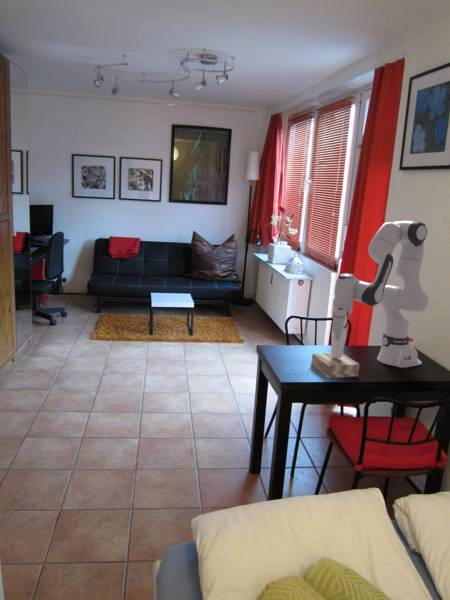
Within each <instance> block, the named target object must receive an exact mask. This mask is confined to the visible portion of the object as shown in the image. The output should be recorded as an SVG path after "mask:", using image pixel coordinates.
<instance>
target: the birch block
mask: <svg viewBox="0 0 450 600" xmlns="http://www.w3.org/2000/svg"><path fill="white" fill-rule="evenodd" d="M310 365H311V367H312V368H313V369H315V370H317V371H318V372H319V374H321V375H323V376H324V377H326V378H327V379H339V378H348V377H349V378H350V377H353V378H354V377H358V376H359V371H360V363H359V362H357V361H355V360H354V359H352V358H350V357H349V356H347V355H346V354H344V353H343V355H342V358H333V357H332V356H331V352H325V353H324V352H323V353H322V352H321V353H312V355H311V364H310Z"/></svg>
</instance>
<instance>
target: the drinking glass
mask: <svg viewBox="0 0 450 600" xmlns="http://www.w3.org/2000/svg"><path fill="white" fill-rule="evenodd" d="M347 329H348V327H347V326H346V325H345V326H344V328H343V330H342V331H341V333H340V338H339V340H336V339H335V332H333V325H332V328H331V336H330V338H331V346H330V348H331V349H330V353H331V356H332V357H333V358H342V355H343V354H344V349H345V348H344V347H345V343H346V339H347V332H348V330H347Z"/></svg>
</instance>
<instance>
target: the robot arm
mask: <svg viewBox="0 0 450 600" xmlns="http://www.w3.org/2000/svg"><path fill="white" fill-rule="evenodd" d="M427 236H428V229H427V226H426V223H424V222H421V221H419V220H418V221H417V220H416V221H415V220H414V221H413V220H408V219H407V220H394V221H393V220H392V221H389V222H385V223H383V224H382V225H381V227H380V228H378V230H377V231H376V233H375V234H374V236H373V237H372V239H371V241H370V243H369V245H368V248H367V251H368V254H369V256H370V258H371V259H372V260H373V261H374V262H375V263H377V264H378V269H377V272H376V275H375V278H374V280H373V282H366V281H363V280H360V279H358V278H357V277H355V275H354V274H353V273H347V272H346V273H341V274H339V275H338V276H337V279H336V281H335V285H334V299H332V301H333V302H332V309H331V311H332V312H331V315H332V326H333V332H335V339H336V340H339V338H340V333H341V331H342V330H343V328H344V326H346V324H347V322H348V317H349V315H351V314H352V312H353V305H354V304H353V302H354V301H355V302H359V303H361V304H364V305H367V306H368V307H374V306H376V305H378V304H379V306H380V307H381V308H382V310H383V312H384V317H385V323H384V331H383V334H382V341H381V347H380V350H379V353H378V355H377V357H376V360H377V361H378V362H380V363H382V364H385V365H389V366H394V367H397V368H401V369H404V367H405V368H409V367H414V366H415V367H416V366H420V365H422V364H423V363H422V360H420V359H419V357H418V355H419V353H418V351H417V350H416V349H415V348H414V347H413V346H412V345H411V344H410V342H411V343H412V342H414V338H413V337H411V336H408V332H409V326H410V322H409V320H408V319H407V317H406V316H404V315H403V314H402V313H401V312H402V311H401V310H403V311H408V312H412V313H413V312H415V313H417V312H418V313H421V312H424V311H425V310H426V309H427V307H428V305H429V296H428V295H427V293H426V292H425V291H424V289H423V288H422V285H421V282H420V274H421V269H422V263H423V259H424V252H425V251H424V249H425V244H424V242H425V240H426V239H427ZM397 244H401V250H400V253H399V257H398V260H397V265H396V269H395V273H396V276H397V278H399V279H400V280H401V281H403V285H404V286H399V285H398V286H397V285H392V284H387V283H388V279H389V278H390V275H391V272H392V268H393V266H394V257H393V253H394V252H393V251H394V250H395V248H396V246H397Z"/></svg>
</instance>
